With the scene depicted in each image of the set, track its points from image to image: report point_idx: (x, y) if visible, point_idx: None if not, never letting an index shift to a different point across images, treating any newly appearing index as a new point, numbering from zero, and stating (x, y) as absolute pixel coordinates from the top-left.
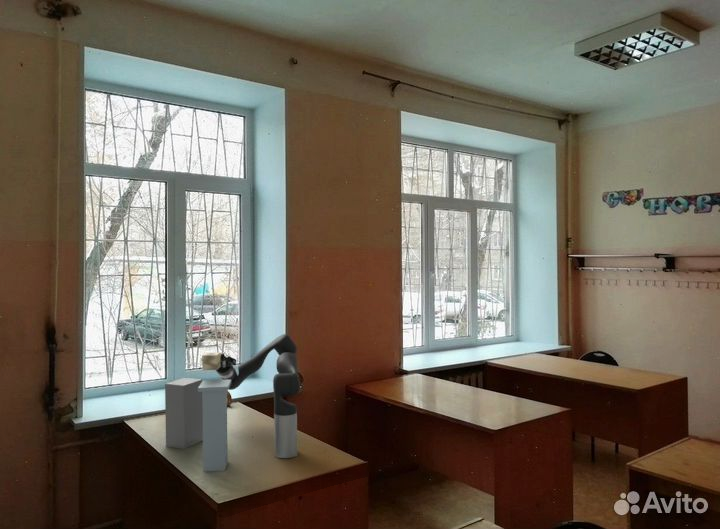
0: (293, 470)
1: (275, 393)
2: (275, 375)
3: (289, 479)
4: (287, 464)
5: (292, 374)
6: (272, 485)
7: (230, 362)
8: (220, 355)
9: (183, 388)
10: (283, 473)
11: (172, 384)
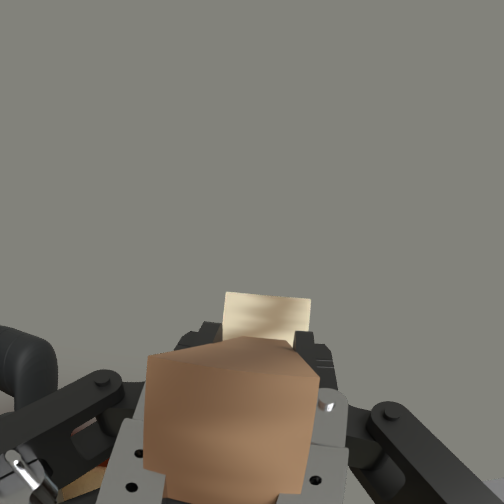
0: (74, 482)
1: (57, 387)
2: (45, 342)
3: (97, 471)
4: (69, 498)
5: (13, 328)
6: None
7: (93, 439)
8: (225, 342)
9: None
10: (94, 485)
11: (491, 480)
